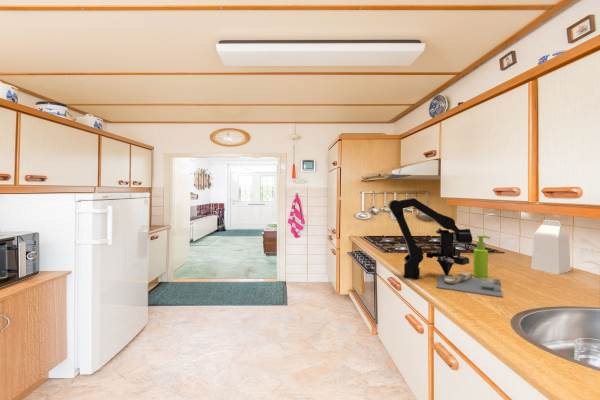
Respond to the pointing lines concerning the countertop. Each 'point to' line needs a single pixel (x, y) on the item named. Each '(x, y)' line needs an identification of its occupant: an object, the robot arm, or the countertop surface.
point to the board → (468, 286)
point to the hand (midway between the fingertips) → (446, 275)
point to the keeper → (495, 283)
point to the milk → (551, 248)
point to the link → (457, 278)
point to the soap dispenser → (481, 259)
